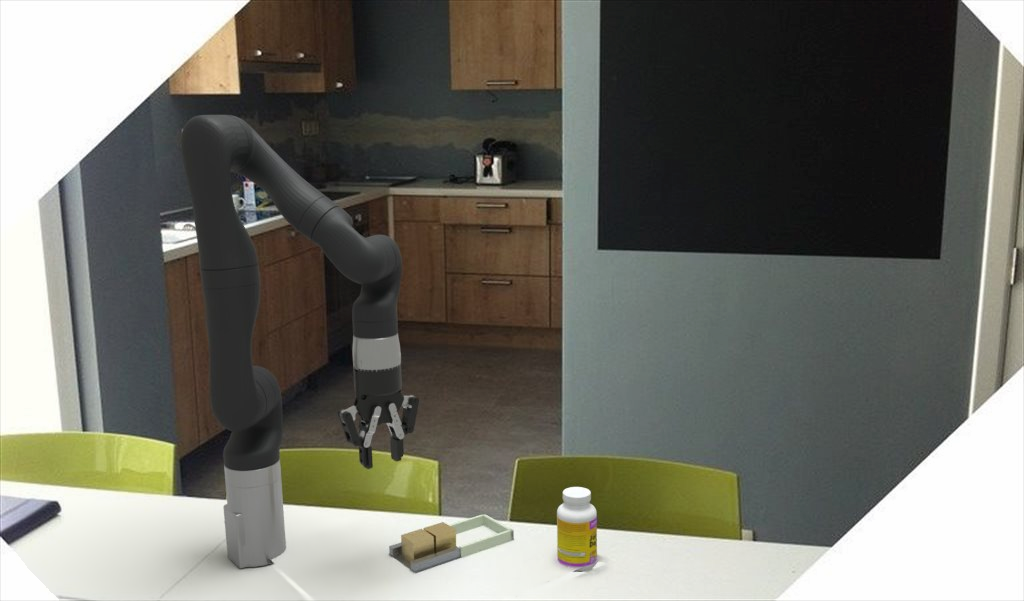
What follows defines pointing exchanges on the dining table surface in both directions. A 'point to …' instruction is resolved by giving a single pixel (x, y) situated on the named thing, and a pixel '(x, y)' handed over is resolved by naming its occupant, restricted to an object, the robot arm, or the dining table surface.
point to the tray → (502, 537)
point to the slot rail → (425, 558)
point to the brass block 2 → (442, 536)
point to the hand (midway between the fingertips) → (381, 463)
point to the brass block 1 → (417, 545)
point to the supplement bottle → (577, 530)
